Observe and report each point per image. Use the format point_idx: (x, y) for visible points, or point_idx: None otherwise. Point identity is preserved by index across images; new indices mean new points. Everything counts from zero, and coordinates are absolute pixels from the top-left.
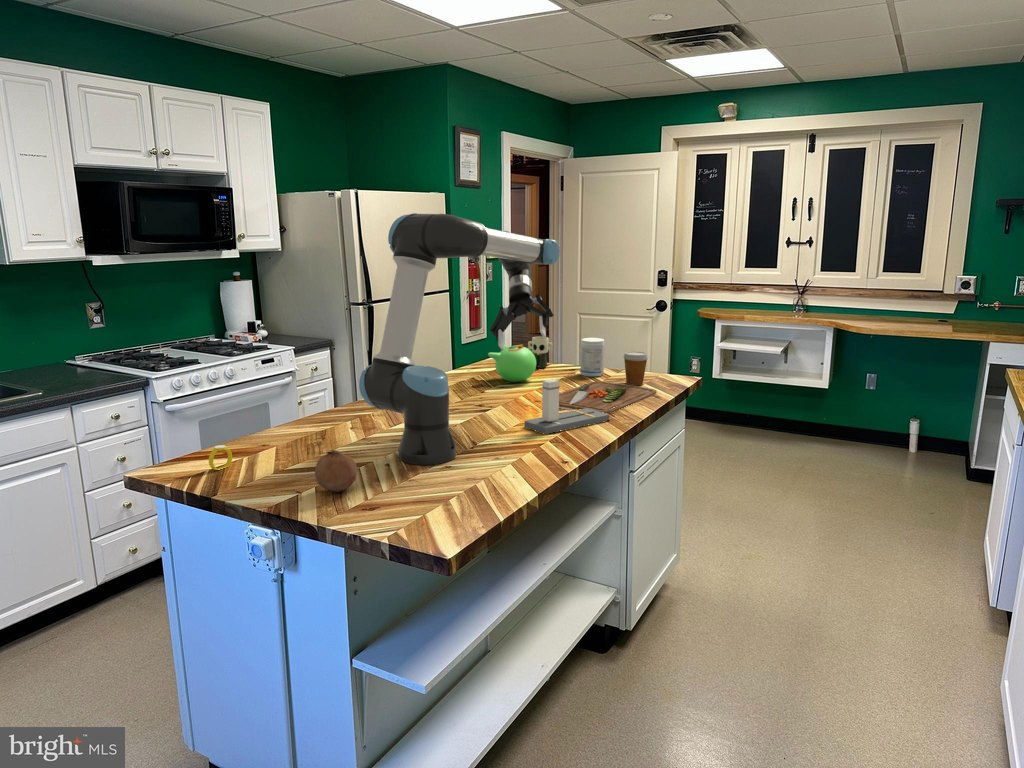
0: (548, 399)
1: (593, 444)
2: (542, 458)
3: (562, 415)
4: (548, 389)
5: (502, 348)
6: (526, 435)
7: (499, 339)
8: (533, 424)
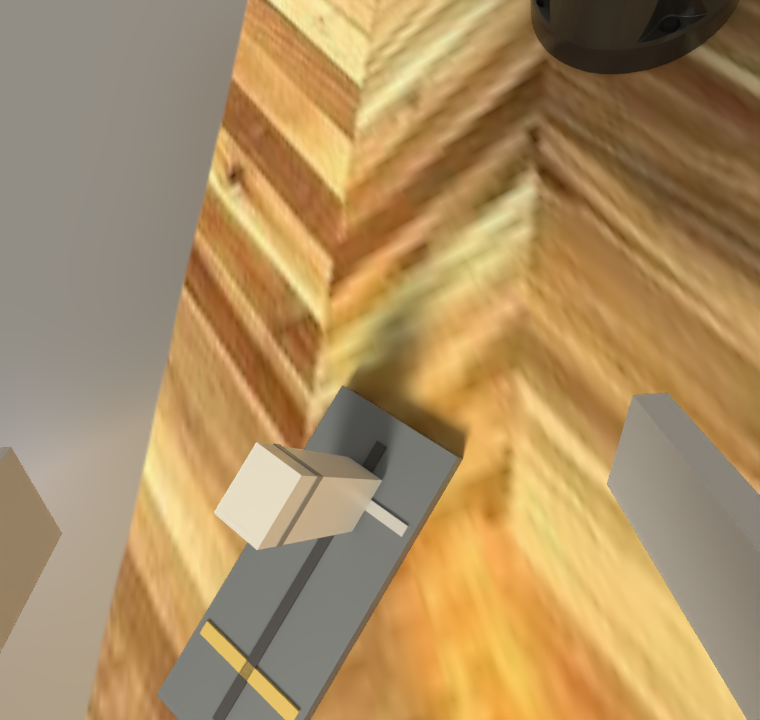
0: (306, 451)
1: (191, 356)
2: (295, 169)
3: (329, 611)
4: (280, 446)
5: (623, 452)
6: (413, 352)
7: (716, 470)
8: (404, 424)
